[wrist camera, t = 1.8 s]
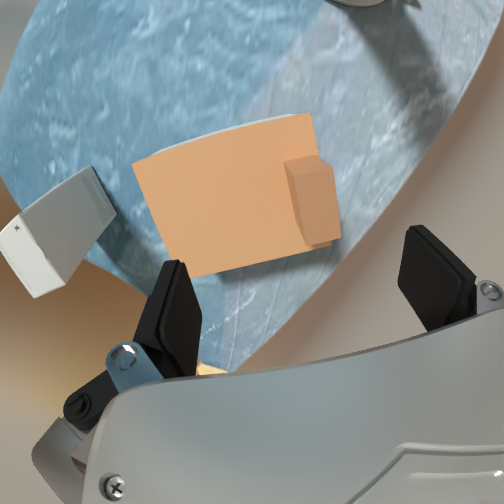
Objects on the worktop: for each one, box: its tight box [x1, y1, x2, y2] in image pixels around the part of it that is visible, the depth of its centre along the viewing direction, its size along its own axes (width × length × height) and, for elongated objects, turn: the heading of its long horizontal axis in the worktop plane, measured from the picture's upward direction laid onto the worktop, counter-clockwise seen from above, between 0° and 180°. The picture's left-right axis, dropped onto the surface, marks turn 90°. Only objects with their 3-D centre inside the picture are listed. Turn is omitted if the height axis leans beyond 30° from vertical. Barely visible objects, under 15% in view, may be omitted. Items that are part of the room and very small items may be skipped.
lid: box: [132, 113, 341, 279], centre depth 24 cm, size 17×14×7 cm
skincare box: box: [0, 166, 117, 298], centre depth 25 cm, size 8×7×16 cm
